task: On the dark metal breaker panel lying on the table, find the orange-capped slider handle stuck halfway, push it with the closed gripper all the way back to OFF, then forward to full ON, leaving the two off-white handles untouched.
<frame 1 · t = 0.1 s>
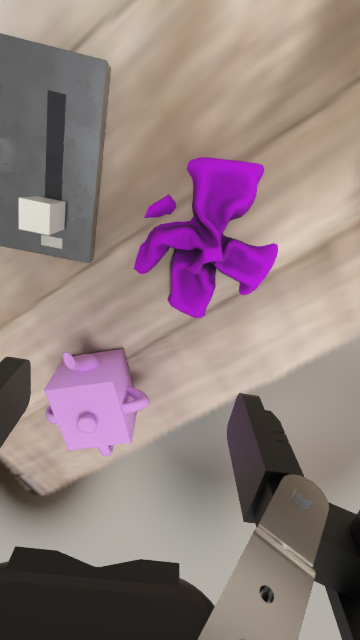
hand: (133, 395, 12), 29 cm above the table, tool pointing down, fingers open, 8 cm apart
cloth: (195, 247, 39), on the table
teapot: (106, 373, 46), on the table
breaker c: (43, 214, 32), point 5 cm above the table, slide at 10.0 cm
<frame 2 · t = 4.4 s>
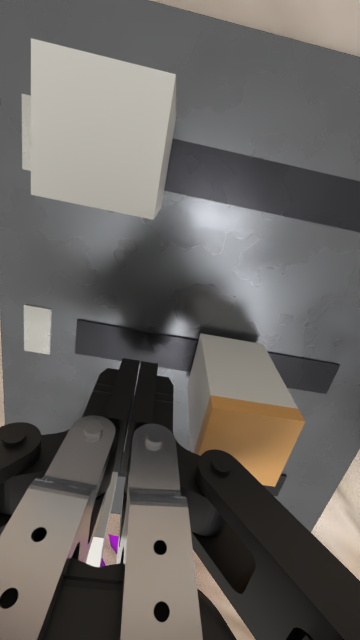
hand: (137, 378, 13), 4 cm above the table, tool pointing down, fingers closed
breaker tripped: (232, 400, 12), point 5 cm above the table, slide at 4.3 cm, touching gripper
breaker c: (80, 505, 15), point 5 cm above the table, slide at 10.0 cm
breaker a: (116, 149, 9), point 5 cm above the table, slide at 10.0 cm
panel: (205, 339, 17), on the table
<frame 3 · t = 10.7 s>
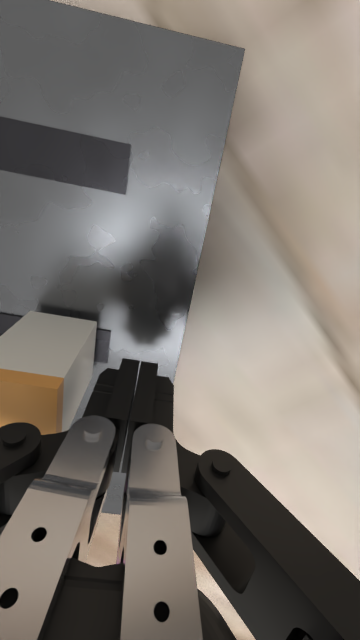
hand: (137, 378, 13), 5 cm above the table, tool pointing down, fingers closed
breaker tripped: (41, 375, 12), point 5 cm above the table, slide at 0.6 cm, touching gripper
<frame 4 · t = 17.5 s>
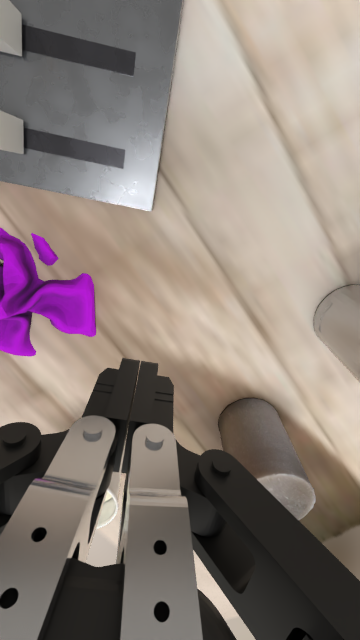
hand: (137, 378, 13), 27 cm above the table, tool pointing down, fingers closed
pillar candle: (248, 420, 49), on the table
candle holder: (100, 433, 49), on the table
cloth: (17, 283, 40), on the table
panel: (71, 56, 30), on the table
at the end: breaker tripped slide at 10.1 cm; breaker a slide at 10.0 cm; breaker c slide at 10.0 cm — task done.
